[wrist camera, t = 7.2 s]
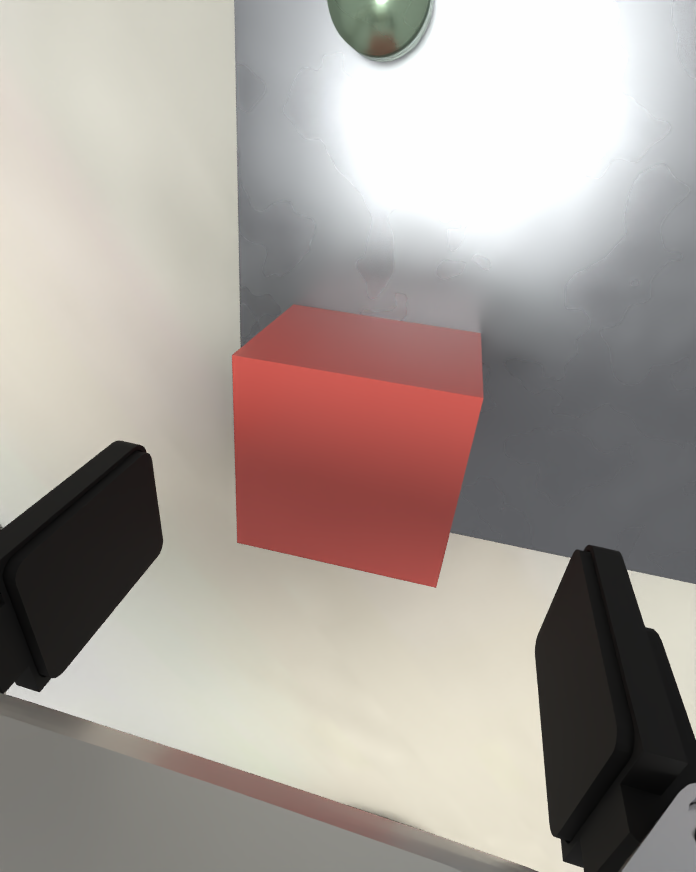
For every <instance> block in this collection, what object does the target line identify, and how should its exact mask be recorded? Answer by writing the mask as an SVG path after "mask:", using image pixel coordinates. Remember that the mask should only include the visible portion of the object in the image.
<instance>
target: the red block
mask: <svg viewBox="0 0 696 872" xmlns="http://www.w3.org/2000/svg"><path fill="white" fill-rule="evenodd" d="M232 371H233V407H234V442H235V478H236V514H237V543H241V544H246V545H250V546H254V547H259V548H263V549H268V550H272V551H277V552H281V553H285V554H290V555H294V556H299V557H303V558H307V559H312V560H316V561H321V562H325V563H329V564H334V565H338V566H343V567H347V568H352V569H356V570H360V571H365V572H369V573H374V574H378V575H382V576H387V577H391V578H396V579H400V580H404V581H409V582H413V583H418V584H422V585H427V586H431V587H435V588H436V586H437V582H438V578H439V574H440V570H441V566H442V562H443V558H444V554H445V550H446V546H447V542H448V538H449V534H450V530H451V526H452V522H453V518H454V514H455V510H456V506H457V502H458V498H459V494H460V490H461V486H462V482H463V478H464V474H465V470H466V466H467V462H468V458H469V454H470V450H471V446H472V442H473V438H474V434H475V430H476V426H477V422H478V418H479V414H480V410H481V406H482V402H483V373H482V348H481V333H477V332H470V331H464V330H457V329H451V328H444V327H438V326H431V325H425V324H418V323H411V322H405V321H398V320H392V319H385V318H379V317H372V316H366V315H359V314H353V313H346V312H340V311H333V310H327V309H320V308H314V307H307V306H300V305H294V304H293V305H292V306H291V307H290V308H289V309H287V310H286V311H285V312H284V313H282V314H281V315H280V316H279V317H278V318H276V319H275V320H274V321H273V322H272V323H270V324H269V325H268V326H267V327H265V328H264V329H263V330H262V331H261V332H259V333H258V334H257V335H256V336H255V337H253V338H252V339H251V340H250V341H249V342H247V343H246V344H245V345H244V346H242V347H241V348H240V349H239V350H238V351H236V352H235V353H234V354H233V355H232Z"/></svg>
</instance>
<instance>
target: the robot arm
mask: <svg viewBox="0 0 696 872" xmlns="http://www.w3.org/2000/svg"><path fill="white" fill-rule="evenodd" d="M162 545H163V536H162V529H161V522H160V515H159V507H158V500H157V493H156V486H155V479H154V471H153V464H152V458H151V456H150V454H148V453H146V449H145V448H144V447H143V446H141V445H138V444H133V443H129V442H124V441H115V442H113V443H112V444H111V445H109V446H108V447H107V448H105V449H104V450H103V451H102V452H100V453H99V454H98V455H97V456H95V457H94V458H93V459H91V460H90V461H89V462H88V463H86V464H85V465H84V466H82V467H81V468H80V469H79V470H77V471H76V472H75V473H73V474H72V475H71V476H70V477H68V478H67V479H66V480H65V481H63V482H62V483H61V484H59V485H58V486H57V487H56V488H54V489H53V490H52V491H50V492H49V493H48V494H47V495H45V496H44V497H43V498H41V499H40V500H39V501H38V502H36V503H35V504H34V505H32V506H31V507H30V508H29V509H27V510H26V511H25V512H24V513H22V514H21V515H20V516H18V517H17V518H16V519H15V520H13V521H12V522H11V523H9V524H8V525H7V526H6V527H4V528H3V529H2V530H0V872H538V871H535V870H533V869H530V868H528V867H525V866H522V865H519V864H517V863H514V862H511V861H508V860H505V859H502V858H500V857H497V856H494V855H491V854H488V853H485V852H483V851H480V850H477V849H474V848H471V847H468V846H466V845H463V844H460V843H457V842H454V841H451V840H449V839H446V838H443V837H440V836H437V835H434V834H432V833H429V832H426V831H423V830H420V829H417V828H414V827H411V826H408V825H405V824H402V823H399V822H396V821H393V820H390V819H387V818H384V817H381V816H378V815H375V814H372V813H369V812H366V811H363V810H360V809H357V808H354V807H351V806H348V805H345V804H342V803H339V802H336V801H333V800H330V799H327V798H324V797H321V796H318V795H315V794H312V793H309V792H306V791H303V790H300V789H297V788H294V787H291V786H288V785H284V784H281V783H278V782H275V781H272V780H269V779H266V778H263V777H260V776H257V775H254V774H251V773H248V772H245V771H242V770H239V769H236V768H233V767H230V766H227V765H224V764H220V763H217V762H214V761H211V760H208V759H205V758H202V757H199V756H196V755H193V754H190V753H187V752H184V751H181V750H178V749H175V748H171V747H168V746H165V745H162V744H159V743H156V742H153V741H150V740H147V739H144V738H141V737H138V736H135V735H132V734H128V733H125V732H122V731H119V730H116V729H113V728H110V727H107V726H103V725H100V724H97V723H94V722H91V721H88V720H85V719H82V718H79V717H75V716H72V715H69V714H66V713H63V712H60V711H57V710H54V709H51V708H47V707H44V706H41V705H38V704H35V703H32V702H29V701H26V700H22V699H19V698H16V697H12V696H9V695H6V691H7V690H8V689H9V687H10V686H11V685H12V684H13V683H14V682H15V683H16V685H18V686H22V687H25V688H28V689H31V690H34V691H37V692H40V691H41V690H42V689H43V688H44V686H45V685H46V684H47V683H48V682H49V680H50V679H51V678H56V677H58V676H59V675H61V674H62V673H63V672H64V671H65V669H66V668H67V667H68V666H69V664H70V663H71V662H72V661H73V660H74V658H75V657H76V656H77V655H78V653H79V652H80V651H81V650H82V648H83V647H84V646H85V645H86V644H87V642H88V641H89V640H90V639H91V637H92V636H93V635H94V634H95V633H96V631H97V630H98V629H99V628H100V626H101V625H102V624H103V623H104V622H105V620H106V619H107V618H108V617H109V615H110V614H111V613H112V612H113V611H114V609H115V608H116V607H117V606H118V604H119V603H120V602H121V601H122V599H123V598H124V597H125V596H126V595H127V593H128V592H129V591H130V590H131V588H132V587H133V586H134V585H135V584H136V582H137V581H138V580H139V579H140V577H141V576H142V575H143V574H144V573H145V571H146V570H147V569H148V568H149V566H150V565H151V564H152V563H153V561H154V560H155V559H156V558H157V557H158V555H159V554H160V551H161V549H162ZM535 659H536V671H537V683H538V695H539V706H540V718H541V730H542V742H543V753H544V765H545V777H546V789H547V800H548V812H549V823H550V829H551V833H552V835H553V836H554V837H557V838H560V839H561V846H562V856H563V861H564V862H567V863H570V864H573V865H576V866H579V867H582V868H584V872H696V739H695V736H694V734H693V731H692V728H691V725H690V722H689V719H688V716H687V713H686V710H685V707H684V704H683V702H682V699H681V696H680V693H679V690H678V687H677V684H676V681H675V678H674V675H673V672H672V670H671V667H670V664H669V661H668V658H667V655H666V652H665V649H664V646H663V643H662V641H661V639H660V637H659V635H658V633H657V632H656V631H655V630H654V629H651V628H646V627H645V625H644V622H643V619H642V616H641V613H640V610H639V607H638V604H637V600H636V597H635V594H634V591H633V588H632V585H631V582H630V578H629V575H628V572H627V569H626V566H625V563H624V560H623V557H622V554H621V553H620V552H619V551H616V550H612V549H607V548H602V547H598V546H593V545H587V546H586V547H585V549H584V550H583V551H582V550H578V549H577V550H575V551H574V553H573V555H572V557H571V559H570V561H569V564H568V566H567V568H566V571H565V573H564V575H563V578H562V580H561V582H560V585H559V587H558V589H557V592H556V594H555V596H554V599H553V601H552V603H551V605H550V608H549V610H548V612H547V615H546V617H545V619H544V622H543V624H542V626H541V629H540V631H539V633H538V636H537V639H536V645H535Z"/></svg>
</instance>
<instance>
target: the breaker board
mask: <svg viewBox="0 0 696 872" xmlns="http://www.w3.org/2000/svg"><path fill="white" fill-rule="evenodd" d="M234 7H235V61H236V115H237V169H238V224H239V278H240V332H241V347H242V346H244V345H245V344H246V343H247V342H249V341H250V340H251V339H252V338H253V337H255V336H256V335H257V334H258V333H259V332H261V331H262V330H263V329H264V328H265V327H267V326H268V325H269V324H270V323H272V322H273V321H274V320H275V319H276V318H278V317H279V316H280V315H281V314H282V313H284V312H285V311H286V310H287V309H289V308H290V307H291V306H292V305H293V304H294V305H300V306H307V307H314V308H320V309H327V310H333V311H340V312H346V313H353V314H359V315H366V316H372V317H379V318H385V319H392V320H398V321H405V322H411V323H418V324H425V325H431V326H438V327H444V328H451V329H457V330H464V331H470V332H477V333H481V348H482V373H483V402H482V406H481V410H480V414H479V418H478V422H477V426H476V430H475V434H474V438H473V442H472V446H471V450H470V454H469V458H468V462H467V466H466V470H465V474H464V478H463V482H462V486H461V490H460V494H459V498H458V502H457V506H456V510H455V514H454V518H453V522H452V526H451V530H450V532H451V533H455V534H460V535H465V536H470V537H474V538H479V539H484V540H489V541H494V542H498V543H503V544H508V545H513V546H517V547H522V548H527V549H532V550H536V551H541V552H546V553H551V554H555V555H560V556H565V557H570V558H571V557H572V555H573V553H574V551H575V550H577V549H578V550H582V551H583V550H584V549H585V547H586V546H587V545H593V546H598V547H602V548H607V549H612V550H616V551H619V552H620V553H621V554H622V557H623V560H624V563H625V566H626V569H627V570H631V571H636V572H641V573H646V574H650V575H655V576H660V577H665V578H669V579H674V580H679V581H684V582H689V583H693V584H696V0H234Z"/></svg>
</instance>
